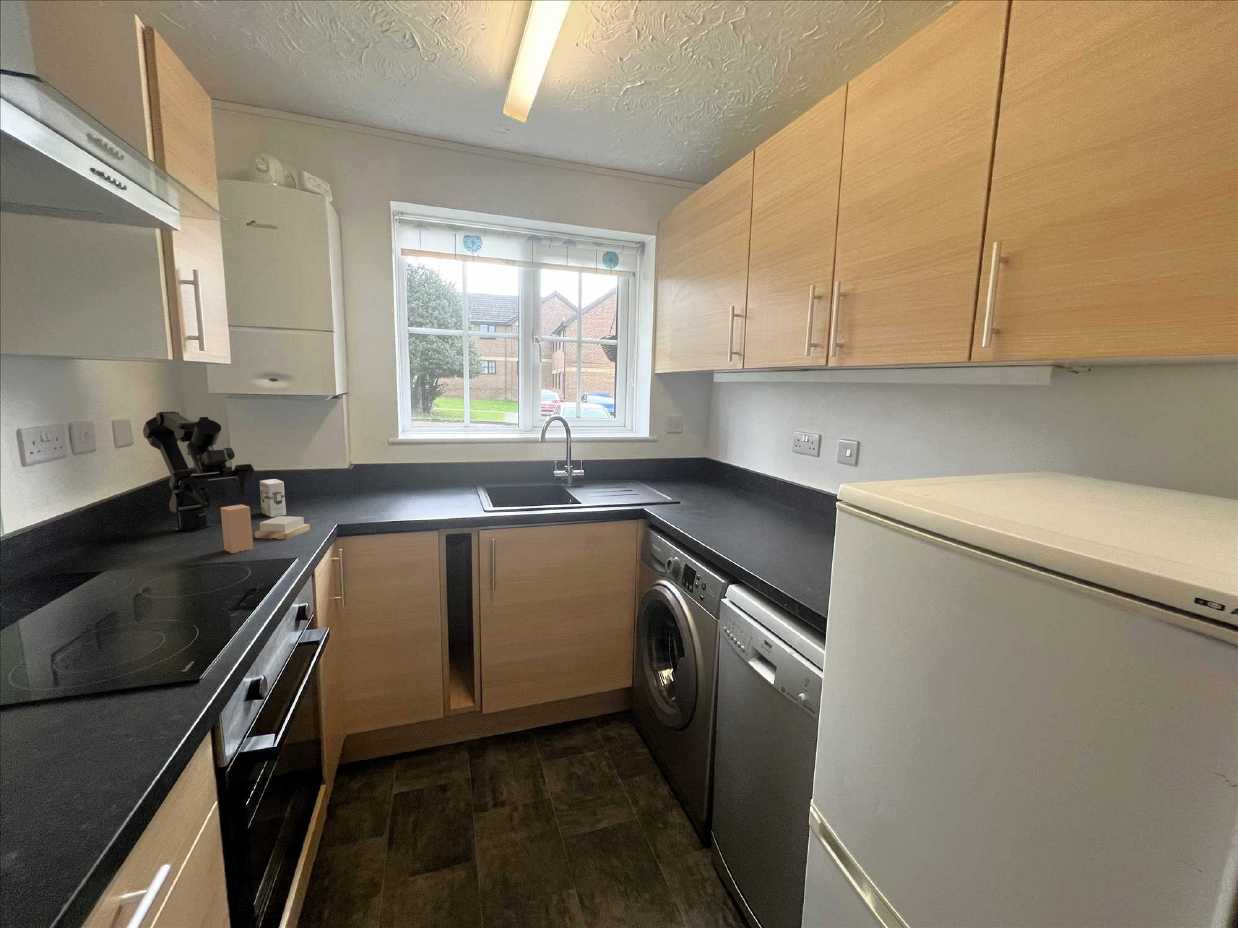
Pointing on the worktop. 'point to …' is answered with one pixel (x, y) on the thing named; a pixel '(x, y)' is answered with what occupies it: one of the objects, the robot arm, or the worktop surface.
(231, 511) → the pillar block
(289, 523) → the top slab
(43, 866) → the worktop surface
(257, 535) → the base slab
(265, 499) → the ink box
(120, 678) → the worktop surface
